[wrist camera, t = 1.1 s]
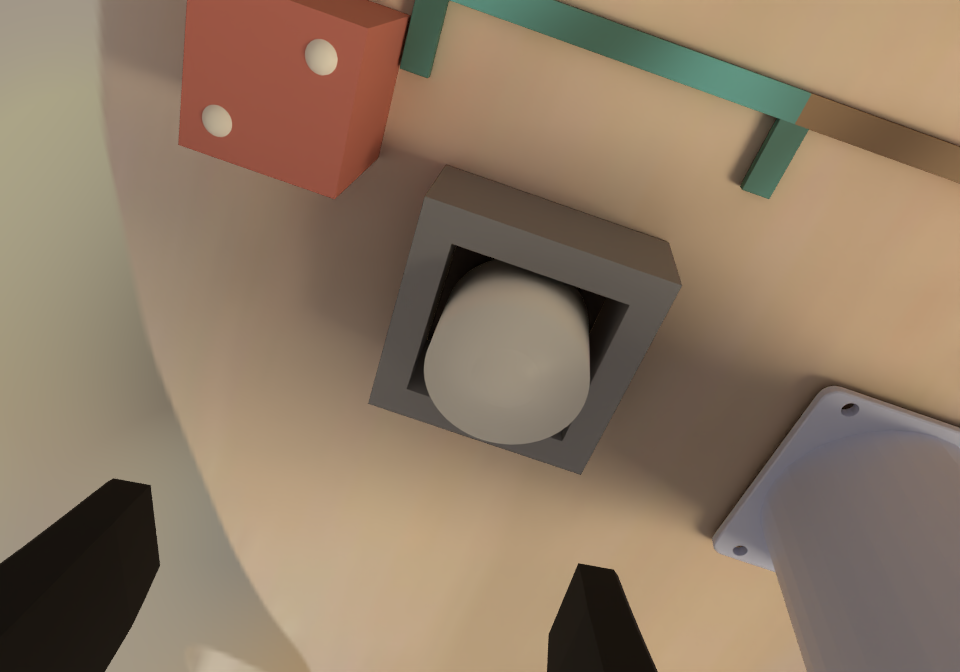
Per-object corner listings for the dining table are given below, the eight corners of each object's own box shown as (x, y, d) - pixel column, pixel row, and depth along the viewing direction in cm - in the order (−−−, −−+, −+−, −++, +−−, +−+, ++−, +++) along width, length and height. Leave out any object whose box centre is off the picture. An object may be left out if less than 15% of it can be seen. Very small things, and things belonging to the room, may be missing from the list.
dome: (612, 286, 19) (617, 345, 16) (558, 402, 21) (554, 471, 18) (467, 236, 19) (446, 286, 16) (428, 358, 21) (404, 421, 18)
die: (411, 15, 17) (365, 29, 14) (378, 157, 19) (332, 202, 16) (268, -37, 17) (184, -36, 14) (250, 112, 19) (173, 146, 16)
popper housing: (668, 242, 19) (682, 285, 17) (581, 417, 23) (580, 474, 20) (446, 164, 19) (425, 196, 17) (392, 353, 23) (368, 403, 20)
